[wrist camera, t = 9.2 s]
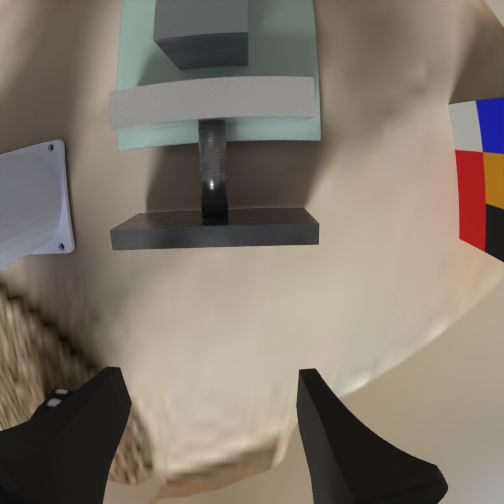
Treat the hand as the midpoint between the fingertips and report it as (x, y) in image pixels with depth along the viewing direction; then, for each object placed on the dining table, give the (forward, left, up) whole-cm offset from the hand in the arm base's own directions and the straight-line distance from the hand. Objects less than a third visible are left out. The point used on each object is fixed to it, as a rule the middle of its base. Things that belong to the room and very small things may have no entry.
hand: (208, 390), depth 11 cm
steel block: (0, +18, -9) cm, 20 cm away
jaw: (0, +8, -9) cm, 12 cm away
